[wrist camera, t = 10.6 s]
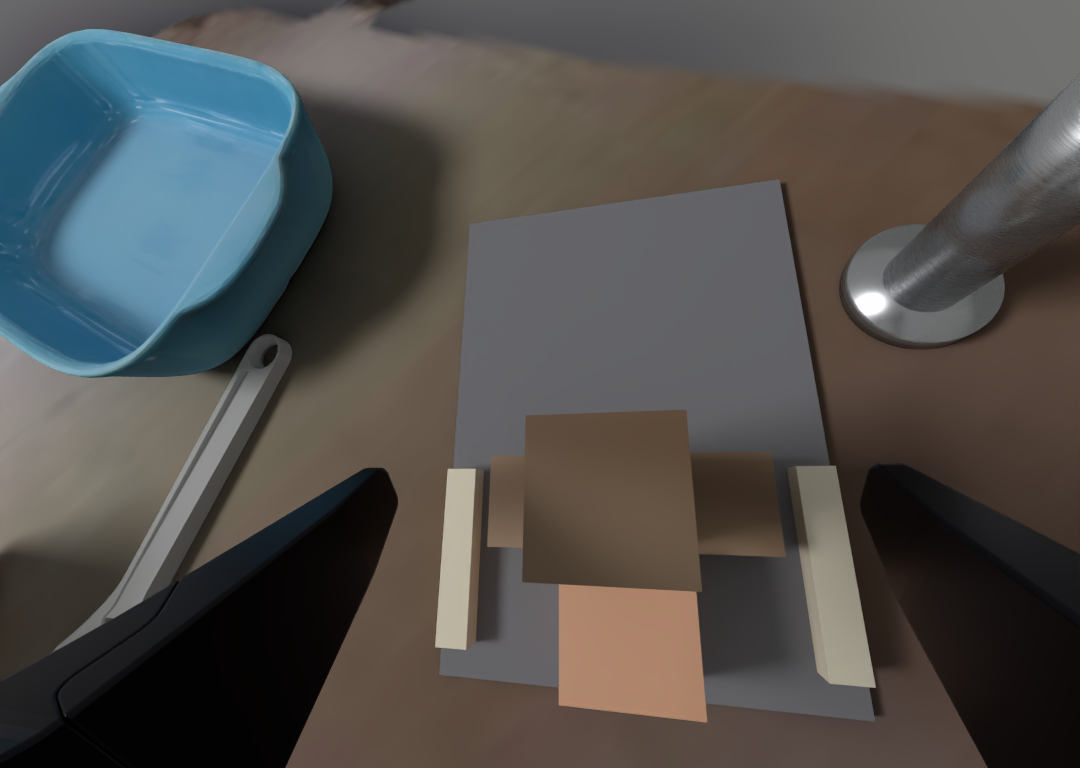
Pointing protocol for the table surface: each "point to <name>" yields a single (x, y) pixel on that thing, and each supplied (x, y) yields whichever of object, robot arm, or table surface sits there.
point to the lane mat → (654, 385)
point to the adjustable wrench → (197, 482)
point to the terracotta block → (631, 651)
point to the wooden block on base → (628, 502)
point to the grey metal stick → (971, 239)
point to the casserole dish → (150, 203)
